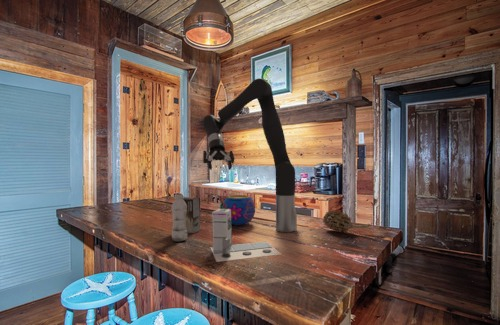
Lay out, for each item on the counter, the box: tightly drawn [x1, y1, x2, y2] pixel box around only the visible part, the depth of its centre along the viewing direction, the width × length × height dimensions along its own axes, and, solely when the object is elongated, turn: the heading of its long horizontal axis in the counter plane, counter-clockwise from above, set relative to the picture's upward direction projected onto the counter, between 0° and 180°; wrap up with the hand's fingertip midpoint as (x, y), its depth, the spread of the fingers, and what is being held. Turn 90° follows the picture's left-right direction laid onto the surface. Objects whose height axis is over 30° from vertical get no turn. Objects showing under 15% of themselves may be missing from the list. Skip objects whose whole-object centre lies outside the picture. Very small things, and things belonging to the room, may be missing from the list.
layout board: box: [209, 241, 282, 263], centre depth 96 cm, size 23×15×1 cm, turn 107°
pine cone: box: [322, 209, 371, 234], centre depth 121 cm, size 22×10×10 cm, turn 55°
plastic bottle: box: [171, 193, 189, 243], centre depth 111 cm, size 6×7×20 cm
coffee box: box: [183, 196, 201, 234], centre depth 126 cm, size 9×6×16 cm
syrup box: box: [211, 208, 233, 251], centre depth 97 cm, size 6×6×14 cm
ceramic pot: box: [219, 194, 256, 226], centre depth 139 cm, size 18×18×15 cm
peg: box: [222, 238, 230, 257], centre depth 90 cm, size 3×3×6 cm
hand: (220, 168), depth 116 cm, fingers open, 8 cm apart
